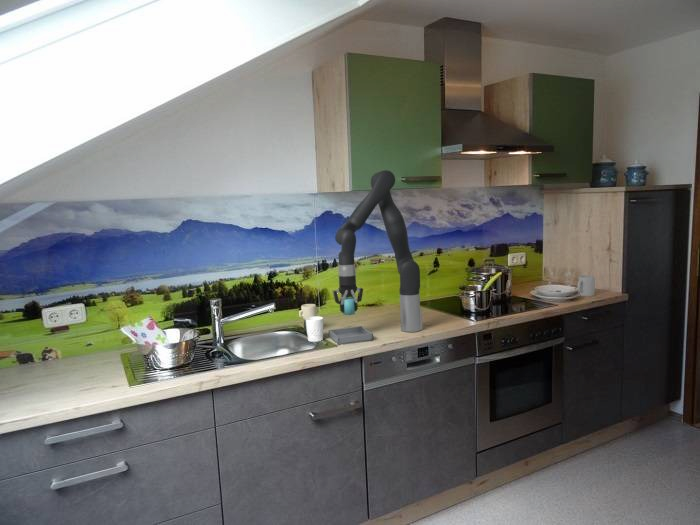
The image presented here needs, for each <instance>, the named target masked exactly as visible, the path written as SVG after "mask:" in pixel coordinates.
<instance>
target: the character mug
mask: <svg viewBox="0 0 700 525" xmlns="http://www.w3.org/2000/svg"><path fill="white" fill-rule="evenodd" d="M300 307H301V308H300V309H301V310H299V311H298V316H299V318H302V319H303V320H304V321H303V332H306V333H307V329H306V318H308V317H314V316H317V315H319V314H320V313H319V312H320V310H319V307H318V306H316V304H315V303H306V304H302V305H301V306H300Z"/></svg>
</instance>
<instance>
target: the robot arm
mask: <svg viewBox="0 0 700 525" xmlns="http://www.w3.org/2000/svg"><path fill="white" fill-rule="evenodd" d="M395 184H396V176H395V174H394V173H393V172H392V171H390V170H387V169H385V170H380V171H377V172H376V173H374V174H373V175H372V176H371V178H370V186H371V190H370V191H369V192H368V194H367V195H366V196H365V198H363V200H361V202H359V204H358V205H357V206H356V207H355V209H354V210H353V212H352V213H351V214H350V216H349V218H348V219H347V220H346V221H345V222H344V223H343V224H342V225H341V226H340V227H339V228H338V230H337V231H336V233H335V238H334V239H335V243H336V244H338V245H340V246H341V251H339V253H338V285H339V287H338V289H334V290H332V295H333V299H334V301H335V302H334V303H336V304H338V305H339V310H340V312H341V313H342V314H343V313H344V305H343V303H344V300H345V298H348V297H352V298H353V299H354V306H355V312H357V311H358V306H359V305H358V303H360V302H362V300H363V293H364V288H362V287H357V276H356V274H357V271H356V263H355V253H356V244H357V237H356V233H355V232H357V231H359V230H360V229H362V228H363V226H364V225H365V224H366V222H367V220H368V219H369V217H370V216H371V214H372V213H373V211H374V210H375V209H376V207H377V206H378V207H379V210H380V214H381V216H382V221H383V224H384V228H385V231H386V234H387V237H388V239H389V240H388V241H389V242H390V245H391V247H392V249H393V254H394V256H395V262H396V268H397V273H398V274H399V277H400V278H399V307H400V308H399V310H400V330H401V332H406V333H415V332H416V333H417V332H420V331H423V310H422V309H421V299H420V295H421V294H420V290H421V289H420V288H421V269H420V265H419V264H418V263H417V261H415V260H414V257H413V255H412V252H411V250H410V246H409V237H408V230H407V226H406V223H405V220H404V216H403V214H402V213H401V211H400V209H399V207H397V205H396V204H395V202H394V200H393V197H392V194H391V189H392V188H393V187H394V186H395ZM356 292H358V294H357V295H356ZM339 293H340V299H339V296H338V295H339ZM356 296H357V297H356Z"/></svg>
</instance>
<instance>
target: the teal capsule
mask: <svg viewBox="0 0 700 525" xmlns="http://www.w3.org/2000/svg"><path fill="white" fill-rule="evenodd" d="M343 305H344V313H342V314H343V315H344V316H352V315H355V314H356V311H355V306H354V299H353V298H352V297H346V298H345V300H344V303H343Z"/></svg>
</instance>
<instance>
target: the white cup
mask: <svg viewBox="0 0 700 525" xmlns="http://www.w3.org/2000/svg"><path fill="white" fill-rule="evenodd" d="M306 329H307V332H306V334H307V340H308V342H312V343H317V342H321V340H322V341H323V340H324V317H322V316H318V315H316V316H314V317H308V318H306Z"/></svg>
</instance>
